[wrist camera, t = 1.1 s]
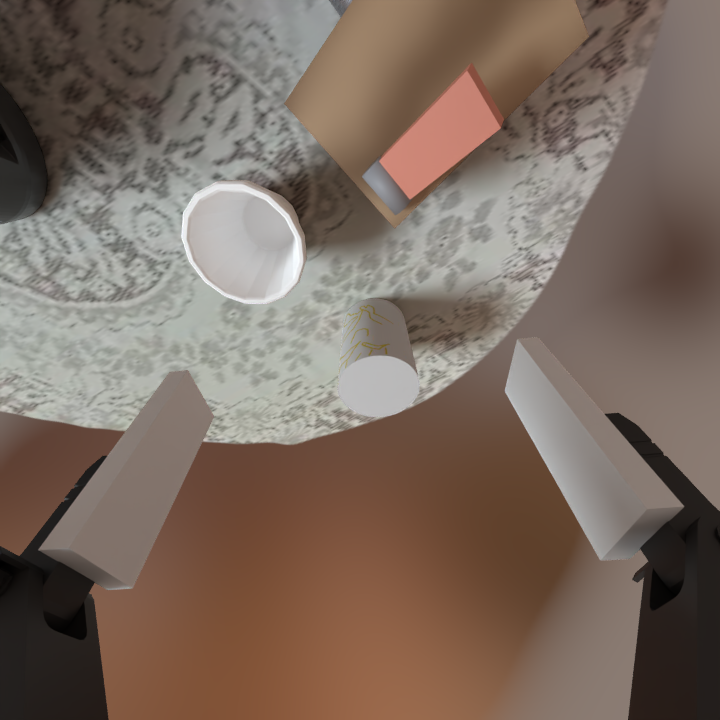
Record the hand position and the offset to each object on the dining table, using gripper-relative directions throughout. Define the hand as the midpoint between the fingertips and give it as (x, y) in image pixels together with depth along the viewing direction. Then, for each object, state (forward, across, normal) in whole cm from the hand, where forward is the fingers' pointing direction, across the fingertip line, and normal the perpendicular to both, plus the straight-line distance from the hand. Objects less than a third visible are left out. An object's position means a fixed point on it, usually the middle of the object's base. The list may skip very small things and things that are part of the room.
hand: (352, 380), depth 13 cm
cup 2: (+25, +1, -13) cm, 28 cm away
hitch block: (+25, +6, +10) cm, 28 cm away
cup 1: (+26, -9, +1) cm, 27 cm away
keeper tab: (+12, +5, +7) cm, 15 cm away
